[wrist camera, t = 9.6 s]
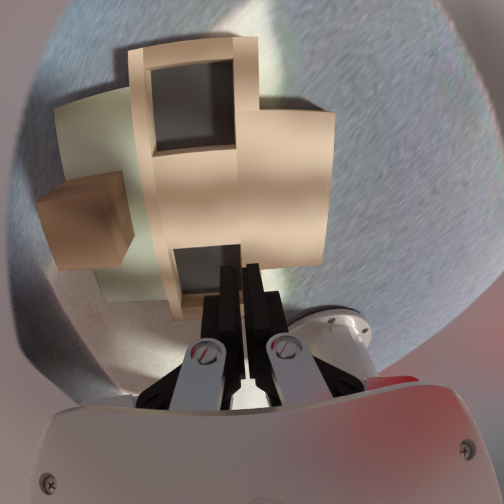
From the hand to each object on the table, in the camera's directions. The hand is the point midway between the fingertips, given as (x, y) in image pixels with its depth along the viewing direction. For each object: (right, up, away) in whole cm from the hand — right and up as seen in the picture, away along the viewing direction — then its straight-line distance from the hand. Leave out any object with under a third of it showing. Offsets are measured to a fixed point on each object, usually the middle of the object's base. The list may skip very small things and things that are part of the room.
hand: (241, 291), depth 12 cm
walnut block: (-11, +5, +5) cm, 13 cm away
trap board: (-4, +6, +8) cm, 11 cm away
